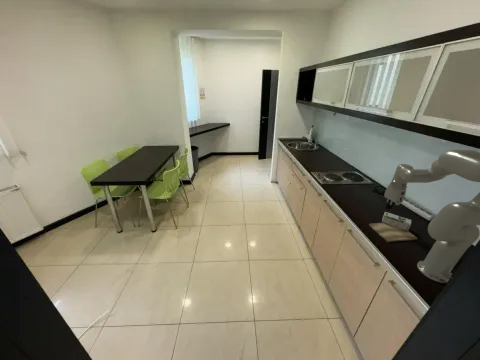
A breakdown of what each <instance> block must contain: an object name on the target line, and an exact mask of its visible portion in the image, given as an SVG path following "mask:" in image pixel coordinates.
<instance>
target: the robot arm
mask: <svg viewBox="0 0 480 360" xmlns="http://www.w3.org/2000/svg"><path fill="white" fill-rule="evenodd" d="M450 175H451V176H452V175H456V176H459V177H460V178H462V179H465V180H467V181H471V182H474V183H480V151H477V150H472V149H450V150H446V151H444V152H443V153H441V154H440V155H439V156H438V158H437V159H436V160H434V161H432V163H431V167H429V168H427V169H425V168H424V169H420V168H419V169H417V168H416V169H414V167H413V166H412V165H410V164H406V163H399V164H398V165H397V167H396V170H394V173H393V177H392V179H391V182H390V183H389V184H388V186H387V187H386V189H385V191H384V199H386V205H385V209H386V210H393V208H394V207H393V206H394V205H396V206H400V204H401V203H403V202H404V200H405V197H406V194H407V188H408V186H407V184H409V183H410V184H411V183H412V184H414V183H415V184H416V183H418V184H421V183H423V184H426V183H433V182H437V181H440V180H443V179H445V178H446V177H447V176H450ZM478 226H480V191H479V192H478V193H477V194H476V196H474V197H473V198H472V199H470V200H469V201H455V202H450V203H447V204H446V205H444V206H443V207H442V208H441V209H440V210H439V211H438V213H437V214H436V215H434V217H433V218H432V219H431V221H430V222H429V223H428V226H427V233H428V234H429V236H430V237H431V238H432V239H434V240H436V241H435V242H434V243H433V244H432V247H431V248H430V250H429V252H428V254H427V255H426V256H425V258H424V260H419V261H418V262H417V264H416V266H417V269H418V270H419V271H420V272H421V274H422V275H423V276H425V277H426V278H428V279H430V280H432V281H435V282H437V283H441V284H448V283H447V282H448V281H449V280H450V278H452V276H453V273H452V272H451V271H453V269H454V267H455V266H456V265H457V263H458V262H459V260H460V259H461V257H462V256H463V255H464V254H465V252H467V249H469V248H470V247H471V246H472V245H473V244H475V243H476V241H477V240H478V239H479V237H480V229H479V227H478Z"/></svg>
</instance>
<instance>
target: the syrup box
mask: <svg viewBox="0 0 480 360" xmlns="http://www.w3.org/2000/svg"><path fill="white" fill-rule="evenodd" d="M381 223H386V224H389V225H392V226H395V227H398V228H401V229H404V230H407V231H409V229H410V228H411V226H412V219H409V218H406V217H403V216H400V215H396V214H393V213H391V212H388V211H387V212H386V211H384V214H383V216H382V220H381Z"/></svg>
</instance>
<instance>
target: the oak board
mask: <svg viewBox="0 0 480 360" xmlns="http://www.w3.org/2000/svg"><path fill="white" fill-rule="evenodd" d="M368 226H369V227H371V228H372V230H373V231H375V232H376V233H377V234H378V235H379V236H380V237H381V238H383V240H385V241H386V242H387V243H391V242H403V241H417V240H418V237H417V236H415V235H414V234H413V233H411V232H410V231H409V230H408V231H407V230H404V229H401V228H398V227H395V226H392V225H389V224H386V223H383V222H377V223H376V222H375V223H374V222H373V223H369V224H368Z"/></svg>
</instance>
